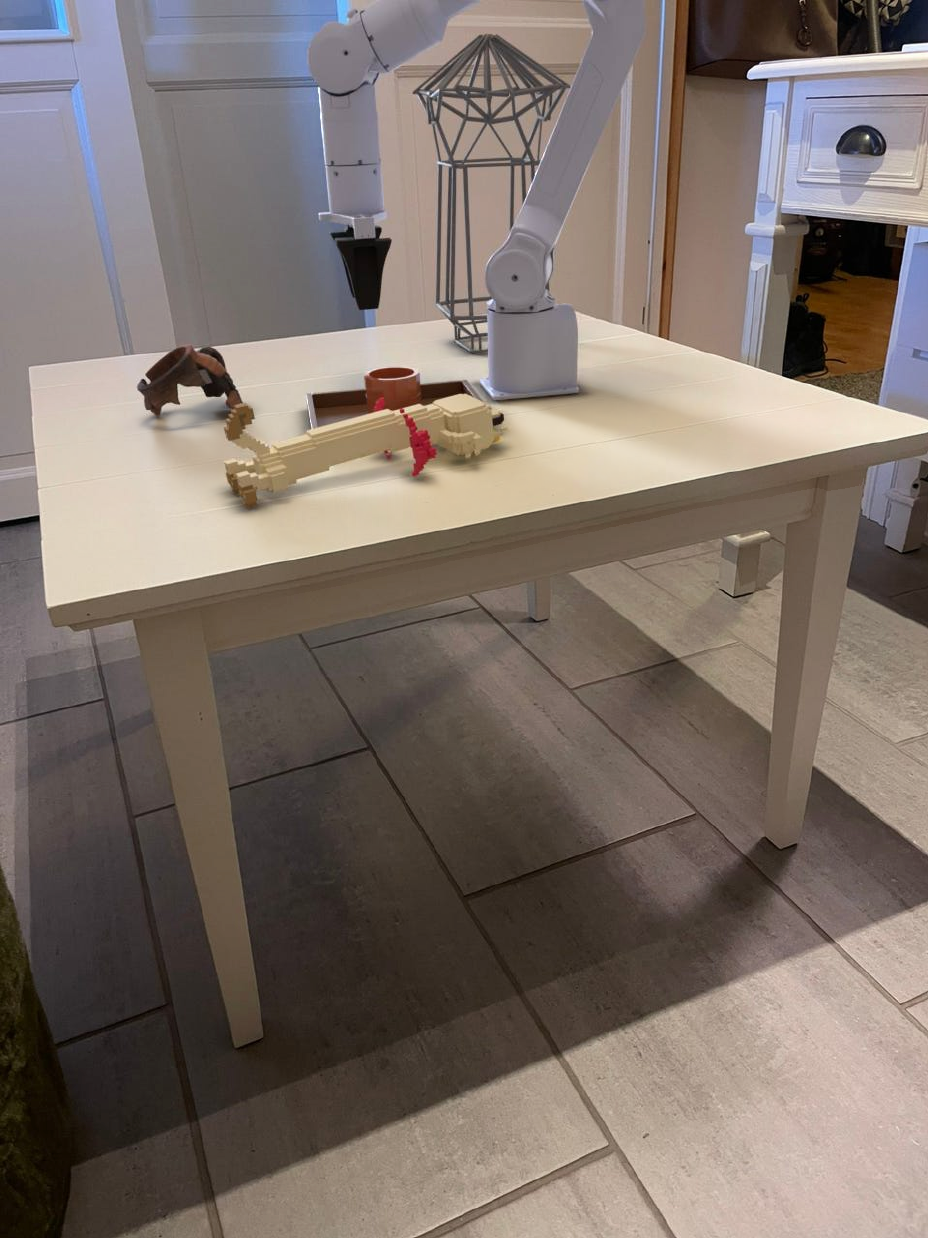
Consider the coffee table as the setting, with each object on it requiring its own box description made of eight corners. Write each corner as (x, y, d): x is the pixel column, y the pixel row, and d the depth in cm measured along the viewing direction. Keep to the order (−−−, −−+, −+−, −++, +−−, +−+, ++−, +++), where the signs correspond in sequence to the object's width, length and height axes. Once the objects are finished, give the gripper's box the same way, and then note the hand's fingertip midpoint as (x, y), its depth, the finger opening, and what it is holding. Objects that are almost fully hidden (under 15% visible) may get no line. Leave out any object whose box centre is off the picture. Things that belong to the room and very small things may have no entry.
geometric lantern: (423, 338, 129) (406, 40, 112) (531, 327, 132) (531, 36, 116) (451, 363, 116) (436, 29, 99) (571, 351, 119) (576, 26, 102)
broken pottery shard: (240, 431, 95) (185, 366, 91) (171, 467, 99) (115, 407, 94) (265, 372, 104) (216, 310, 99) (201, 407, 108) (151, 349, 103)
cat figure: (259, 533, 74) (531, 450, 82) (233, 426, 69) (523, 351, 78) (226, 494, 82) (477, 423, 90) (201, 397, 77) (467, 331, 86)
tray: (467, 397, 102) (466, 379, 101) (493, 433, 90) (493, 412, 89) (308, 412, 99) (305, 393, 98) (314, 450, 88) (311, 429, 87)
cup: (417, 407, 97) (414, 364, 95) (425, 422, 92) (423, 377, 90) (365, 412, 96) (361, 368, 94) (371, 428, 92) (367, 382, 89)
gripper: (310, 163, 101) (324, 294, 108) (317, 169, 89) (332, 317, 95) (375, 159, 102) (385, 289, 109) (391, 165, 90) (401, 312, 96)
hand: (365, 302), depth 102 cm, fingers open, 7 cm apart
